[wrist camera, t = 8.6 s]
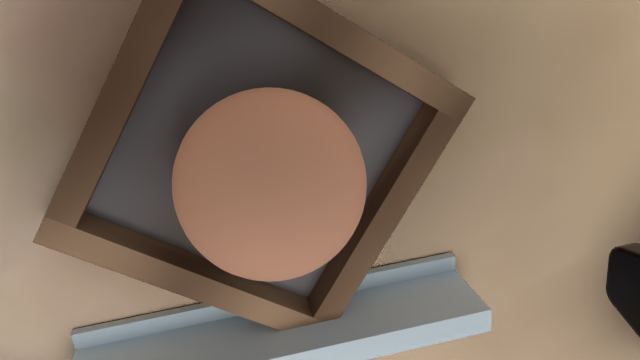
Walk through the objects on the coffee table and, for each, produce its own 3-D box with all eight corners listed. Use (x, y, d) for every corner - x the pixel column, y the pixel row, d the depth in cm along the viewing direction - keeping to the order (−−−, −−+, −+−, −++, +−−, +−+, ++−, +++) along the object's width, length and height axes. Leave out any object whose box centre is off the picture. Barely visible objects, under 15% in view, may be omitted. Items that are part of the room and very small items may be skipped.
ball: (367, 122, 19) (435, 171, 14) (292, 254, 20) (326, 348, 15) (222, 43, 17) (233, 62, 12) (147, 194, 18) (125, 277, 13)
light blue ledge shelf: (451, 252, 23) (491, 294, 19) (452, 298, 23) (490, 345, 20) (73, 329, 20) (46, 391, 17) (89, 377, 21) (67, 445, 18)
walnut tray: (450, 89, 20) (475, 98, 18) (313, 317, 22) (322, 345, 20) (183, -74, 16) (180, -84, 15) (50, 217, 19) (32, 242, 17)
